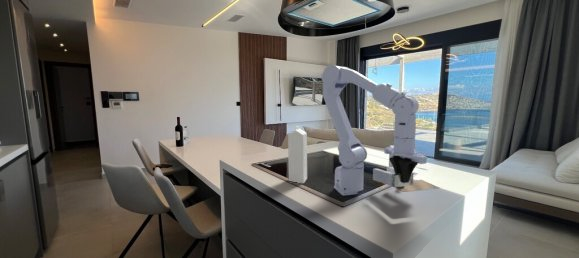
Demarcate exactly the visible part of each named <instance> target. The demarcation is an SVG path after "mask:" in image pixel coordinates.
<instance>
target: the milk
mask: <svg viewBox="0 0 579 258" xmlns="http://www.w3.org/2000/svg"><path fill="white" fill-rule="evenodd" d="M294 128H295V130H294V131H292V132H290V133H288V134H287V142H288V143H287V145H288V146H287V147H288V148H287V149H288V182H289V181H294V182H297V183H296V184H304V183H305V182H306V181H307V180H308V135H307V134H308V133H307V132H306V131H305V130H303V129H301V127H300V124H298V125H295V127H294Z"/></svg>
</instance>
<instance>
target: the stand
mask: <svg viewBox="0 0 579 258" xmlns="http://www.w3.org/2000/svg"><path fill="white" fill-rule="evenodd" d="M394 188H395V189H397V190H398V191H401V192H403V193H404V192H407V193H408V192H415V191H416V192H417V191H425V190H434V189H436V190H437V189H440V187H439V186H436V185H434V184H432V183H430V182H428V181H425V180H423V179H415V180H414V179H413V185H407V186H401V187H394Z"/></svg>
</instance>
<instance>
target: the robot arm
mask: <svg viewBox="0 0 579 258" xmlns="http://www.w3.org/2000/svg"><path fill="white" fill-rule="evenodd" d="M320 78H321V80H322V97H323V100H324V102H325V105H326V108H327V111H328V114H329V115H330V119H331V121H332V125H333V127H334V129H335V132H336V134H337V137H338V140H339V142H338V146H337V150H338V161H339V163H340V164H341V165H340V166H337V167H335V169H334V186H333V189H335V190H336V191H337V192H338V193H339V194H340V195H341V196H351V195H361V193H360V192H361V191H363V190H364V174H365V172H364V169H365V164H364V163H365V161H366V159H367V158H368V152H367V149H366V148H365V146H363V144H362V143H361V141H360V139H358V138H357V137H356V135H355V134H354V131H353V128H352V126H351V122H350V120H349V118H348V114H347V112H346V110H345V107H344V104H343V102H342V99H341V97H340V94H341V93H342V91H343V89H344V88H345V87H346V86H347V85H348V84H354V85H356V86H358V87H359V88H361V89H363V90H365V91H367V92H368V93H370V94H371V95H372V98H373V100H374V101H376V102H377V103H379V104H381V105H382V106H385V107H386V108H388V109H389V110H392V113H393V114H394V129H393V130H394V132H393V133H394V134H393V146H394V148H391V147H390V146H388V147H384V151H383V152H384V154H386V155H389V154H391V155H393V157H391V158H390V161H391V163H392V165H393V168H394V171H395V174H399V173H401V181H402V183H408V182H409V180H410V177H411V174H412V173H414V170H415V168H416V167H417V165H418V164H419V165H425V164H427V162H428V157H427V156H425V155H423V154H420V153H418V152H416V151H415V149H416V147H415V146H416V128H417V125H416V124H417V122H416V121H417V120H416V119H417V118H416V117H417V114H416V113H417V112H418V111H419V105H420V104H419V101H418V100H417V99H416V98H415V97H414V96H411V95H407V96H406V92H404V91H402V92H401V91H399V90H398V89H396V88H393V84H391V83H389V82H387V83H385V82H383V83H380V84H378V83H376V82H374V81H373V80H371V79H370V78H369V77H366V76H365V75H363V74H361V73H360V72H358V71H356V70H354V69H352V68H349V67H348V66H342V65H341V66H339V65H335V64H329V65H327V66H326V67H325V68H324V70H323V72H322V74H321V77H320Z"/></svg>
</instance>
